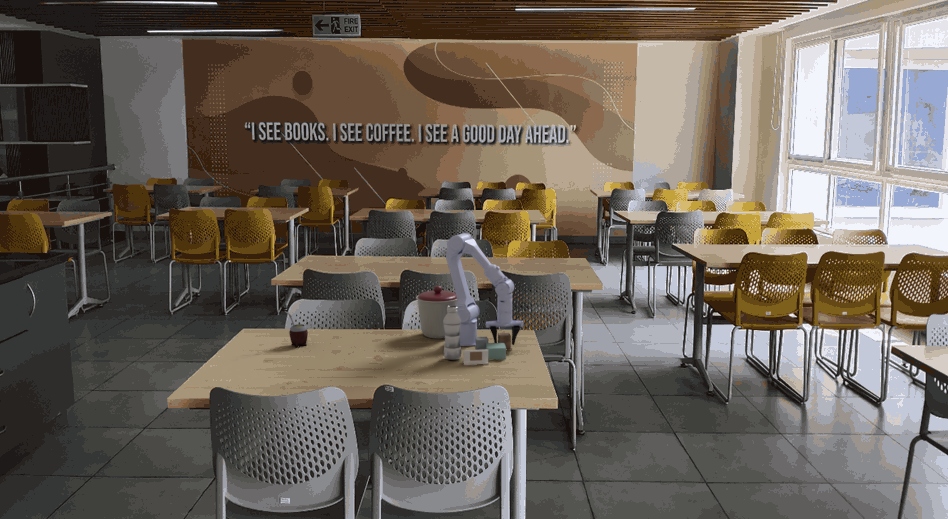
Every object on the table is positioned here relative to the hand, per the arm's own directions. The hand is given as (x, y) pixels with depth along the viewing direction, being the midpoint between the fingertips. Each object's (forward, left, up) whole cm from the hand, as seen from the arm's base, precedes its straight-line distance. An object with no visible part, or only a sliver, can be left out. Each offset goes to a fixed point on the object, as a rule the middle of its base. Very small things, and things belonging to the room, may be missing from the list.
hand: (504, 344), depth 278 cm
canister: (-25, +21, -2) cm, 32 cm away
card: (-14, -18, -1) cm, 23 cm away
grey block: (-10, -4, -2) cm, 11 cm away
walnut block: (0, 0, -2) cm, 2 cm away
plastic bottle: (-22, -12, -2) cm, 25 cm away
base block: (-5, -10, -2) cm, 12 cm away
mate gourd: (-81, +12, -2) cm, 81 cm away
